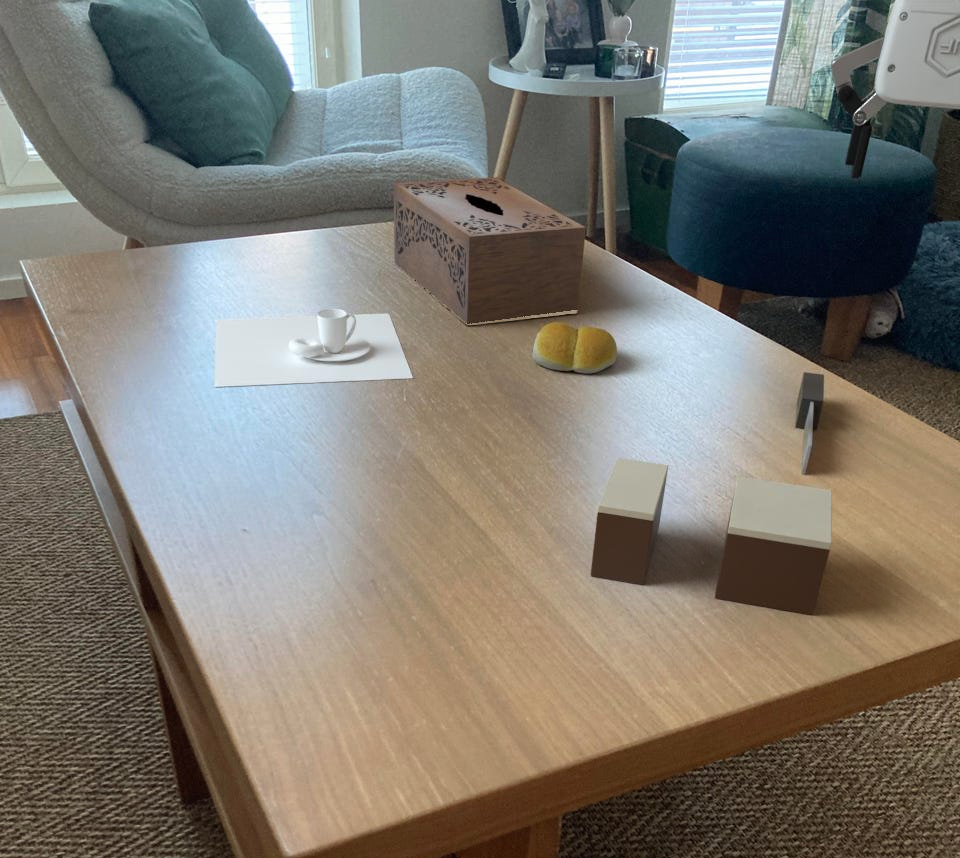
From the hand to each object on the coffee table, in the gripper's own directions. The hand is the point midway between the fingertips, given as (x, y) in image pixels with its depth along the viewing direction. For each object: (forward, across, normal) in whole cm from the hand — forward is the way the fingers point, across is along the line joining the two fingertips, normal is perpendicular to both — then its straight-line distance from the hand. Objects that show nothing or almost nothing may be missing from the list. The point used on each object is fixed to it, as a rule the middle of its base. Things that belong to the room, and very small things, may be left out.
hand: (914, 180), depth 86 cm
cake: (+22, -6, -31) cm, 38 cm away
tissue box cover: (+22, -45, +28) cm, 58 cm away
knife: (+22, -4, -3) cm, 23 cm away
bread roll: (+22, -29, +7) cm, 37 cm away
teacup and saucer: (+22, -57, +1) cm, 61 cm away
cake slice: (+22, -17, -30) cm, 41 cm away
